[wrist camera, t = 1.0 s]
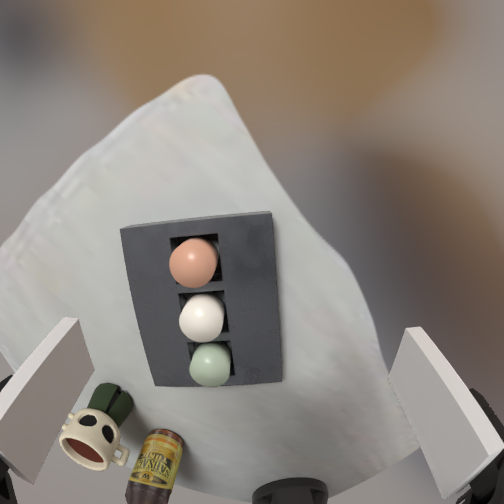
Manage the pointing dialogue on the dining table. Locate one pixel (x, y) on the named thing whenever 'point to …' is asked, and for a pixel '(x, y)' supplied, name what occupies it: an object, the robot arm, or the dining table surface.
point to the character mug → (97, 429)
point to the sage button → (210, 363)
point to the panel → (230, 280)
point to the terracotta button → (194, 262)
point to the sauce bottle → (155, 469)
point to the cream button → (202, 317)
